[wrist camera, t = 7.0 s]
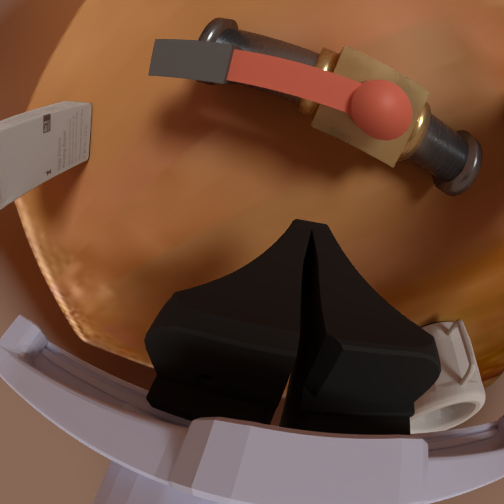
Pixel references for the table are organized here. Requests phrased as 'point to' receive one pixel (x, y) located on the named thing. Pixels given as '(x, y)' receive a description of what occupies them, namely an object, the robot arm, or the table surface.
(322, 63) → the valve body
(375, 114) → the lever
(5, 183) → the skincare box
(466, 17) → the table surface
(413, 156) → the pipe
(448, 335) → the mug
